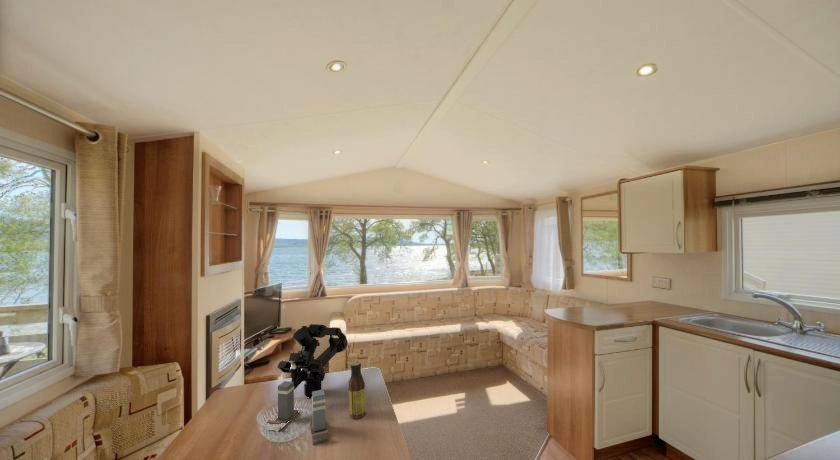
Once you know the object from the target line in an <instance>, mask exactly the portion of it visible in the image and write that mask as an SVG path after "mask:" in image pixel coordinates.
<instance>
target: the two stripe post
mask: <svg viewBox="0 0 840 460" xmlns="http://www.w3.org/2000/svg"><path fill="white" fill-rule="evenodd" d="M311 408H312V409H311V411H312V412H311V413H312V415H311V417H312V418H311V420H312V421H311V422H312V426H313V432H314V431H318V430H322V429H325V423H326V395H325V389H321V390H318V391H313V392H312V398H311Z"/></svg>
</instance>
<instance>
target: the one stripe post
mask: <svg viewBox="0 0 840 460" xmlns="http://www.w3.org/2000/svg"><path fill="white" fill-rule="evenodd" d="M294 391H295V390H294V382H292V381H288V380H287V381H286V380H285V381H282V382H281V383H280V384H279V385H277V390H276V392H277V418H280V419H288V418H289V417H290V416H292V415H293V414H294V410H295V403H294V402H295V399H294V398H295V397H294V396H295V392H294Z"/></svg>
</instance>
